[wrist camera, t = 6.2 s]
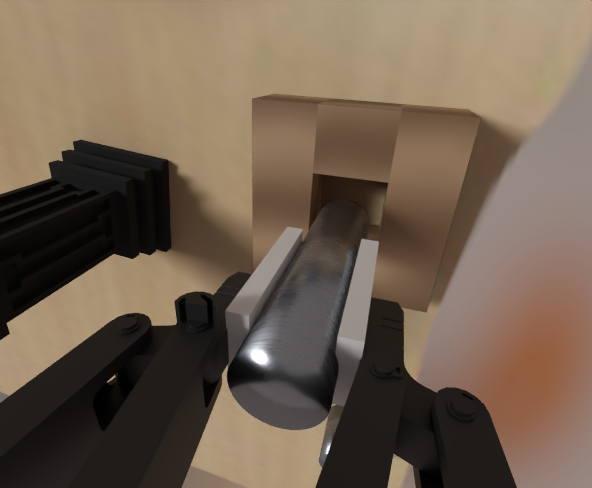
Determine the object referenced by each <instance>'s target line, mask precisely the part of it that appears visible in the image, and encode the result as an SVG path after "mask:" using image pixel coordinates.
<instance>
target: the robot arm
mask: <svg viewBox="0 0 592 488" xmlns="http://www.w3.org/2000/svg"><path fill="white" fill-rule="evenodd" d="M302 238H303V229H299V228H293V227H287V228H286V229H285V230H284V232H283V233H282V235H281V236H280V237H279V239H278V240H277V241H276V243H275V244H274V245H273V247H272V248H271V249H270V251H269V252H268V253H267V255H266V256H265V258H264V259H263V260H262V262H261V263H260V264H259V266H258V267H257V268H256V270H255V271H254V272H253V274H247V273H241V272H237V273H235V274H234V275H232V276H230V277H228V278H227V279H226V281H225V282H224V283H223V284H222V287H220V288H219V289H218V290H217V292H216V293H215V294H214V295H212V294H210V293H206V292H191V293H187V294H184V295H182V296H180V297H179V298H178V299H177V300H175V309H176V317H177V324H176V325H171V326H152V324H151V320H150V318H149V317H148V316H146V315H144V314H140V313H130V314H125V315H122V316H119V317H117V318H115V319H114V320H112V321H110V322H109V323H108V324H106V325H105V326H104V327H102V328H101V329H100V330H98V331H97V332H96V333H94V334H93V335H92V336H90V337H89V338H87V339H86V340H85V341H83V342H82V343H81V344H79V345H78V346H77V347H75V348H74V349H73V350H71V351H70V352H69V353H67V354H66V355H64V356H63V357H62V358H60V359H59V360H58V361H56V362H55V363H54V364H52V365H51V366H50V367H48V368H47V369H46V370H44V371H43V372H41V373H40V374H39V375H37V376H36V377H35V378H33V379H32V380H31V381H29V382H28V383H27V384H25V385H24V386H23V387H21V388H20V389H18V390H17V391H16V392H14V393H13V394H12V395H10V396H9V397H8V398H6V399H5V400H4V401H3V402H1V403H0V488H181V487H182V485H183V482H184V480H185V477H186V475H187V472H188V470H189V467H190V465H191V462H192V460H193V457H194V455H195V452H196V449H197V447H198V444H199V442H200V439H201V437H202V434H203V432H204V429H205V427H206V424H207V422H208V419H209V417H210V414H211V411H212V409H213V406H214V404H215V401H216V399H217V396H218V394H219V391H220V389H221V385H222V373H223V371H224V370H225V368H226V366H227V364H228V368H229V366H230V364H231V362H232V360H233V358H234V357H235V355H236V353H237V352H238V350H239V348H240V347H241V345H242V343H243V341H244V340H245V338H246V336H247V335H248V333H249V332H250V330H251V328H252V327H253V325H254V323H255V322H256V320H257V318H258V316H259V315H260V313H261V311H262V310H263V308H264V306H265V305H266V303H267V301H268V299H269V298H270V296H271V294H272V293H273V291H274V289H275V287H276V286H277V284H278V282H279V281H280V279H281V277H282V276H283V274H284V272H285V270H286V269H287V267H288V265H289V264H290V262H291V260H292V259H293V257H294V255H295V253H296V252H297V250H298V248H299V247H300V245H301V243H302ZM378 245H379V241H372V240H366V239H361V243H360V247H359V251H358V255H357V259H356V263H355V268H354V272H353V276H352V280H351V284H350V288H349V292H348V296H347V300H346V304H345V308H344V312H343V316H342V320H341V324H340V328H339V333H338V337H337V344H336V351H335V354H336V357H337V360H338V365H339V372H338V377H337V382H336V387H335V391H334V396H333V401H332V403H333V404H337V405H340V406H344V409H343V411H342V414H341V417H340V420H339V423H338V425H337V428H336V431H335V434H334V437H333V440H332V442H331V445H330V448H329V451H328V454H327V457H326V459H325V462H324V465H323V468H322V471H321V474H320V476H319V479H318V482H317V485H316V488H387V486H388V481H389V475H390V470H391V464H392V459H393V453H394V454H395V455H397V456H399V457H400V458H402V459H403V460H405V461H407V462H408V463H410V464H411V465H413V469H414V477H415V485H416V488H517V487H516V484H515V481H514V479H513V476H512V474H511V471H510V468H509V465H508V463H507V460H506V457H505V455H504V452H503V449H502V447H501V444H500V441H499V438H498V436H497V433H496V430H495V428H494V425H493V422H492V419H491V417H490V414H489V412H488V410H487V409H486V407H485V405H484V404H483V403H482V402H481V401H480V400H479V399H478V398H477V397H475V396H474V395H472V394H470V393H469V392H467V391H465V390H461V389H458V388H447V387H446V388H444V389H441V390H439V391H438V393H436V392H434V391H432V390H430V389H428V388H426V387H424V386H422V385H421V384H419V383H418V382H417V381H415V380H414V379H413V378H412V377H411V376H410V375H409V373H408V372H407V370H406V368H405V366H404V332H403V331H404V324H403V323H404V312H403V310H402V309H401V307H400V305H399V304H398V302H393V301H388V300H383V299H378V298H373V297H371V294H372V287H373V280H374V273H375V266H376V259H377V252H378ZM114 375H115V376H116V377H115V378H114V379H113V380H111V381H110V382H108V383H107V381H108V380H109V379H110V378H112V377H113V376H114Z"/></svg>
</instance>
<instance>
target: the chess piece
mask: <svg viewBox="0 0 592 488" xmlns="http://www.w3.org/2000/svg"><path fill="white" fill-rule="evenodd" d="M73 144H74V150H66V151H62V158H63V161H59V160H57V161H53V162H50V163H49V167H50V172H51V177H52V178H51V179H48V180H45V181H41V182H38V183H35V184H32V185H29V186H26V187H22V188H19V189H16V190H13V191H10V192H7V193H3V194H0V340H1V339H3V338H4V337H5V336H7V335H8V334H10V333H9V330H8V327H7V324H6V323H7V322H9V321H10V320H12V319H14V318H15V317H17V316H18V315H20V314H21V313H23V312H24V311H26V310H27V309H29V308H31V307H32V306H34V305H35V304H37V303H38V302H40V301H41V300H43V299H45V298H46V297H48V296H49V295H51V294H52V293H54V292H55V291H57V290H58V289H60V288H62V287H63V286H65V285H66V284H68V283H69V282H71V281H72V280H74V279H75V278H77V277H79V276H80V275H82V274H83V273H85V272H86V271H88V270H89V269H91V268H93V267H94V266H96V265H97V264H99V263H100V262H102V261H103V260H105V259H106V258H108V257H110V256H111V255H113V254H117V255H120V256H124V257H127V258H131V259H134V258H135V257H136V256H138V255H139V252H140V253H144V254H147V255H151V254H153V253H154V252H155V251H156V249H157V250H161V251H164V252H166V251H168V250H169V249H170V248H171V232H170V203H169V174H168V160H166V159H161V158H157V157H153V156H149V155H144V154H140V153H136V152H131V151H127V150H123V149H118V148H114V147H110V146H105V145H101V144H97V143H92V142H88V141H84V140H78V141H74V142H73Z"/></svg>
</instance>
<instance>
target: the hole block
mask: <svg viewBox="0 0 592 488" xmlns="http://www.w3.org/2000/svg"><path fill="white" fill-rule="evenodd" d="M480 120H481V118H480V117H479V116H477V115H476V114H474V113H473V112H471V111H469V110H467V109H455V108H442V107H430V106H417V105H405V104H392V103H380V102H367V101H355V100H342V99H330V98H318V97H305V96H293V95H280V94H272V95H267V96H263V97H258V98H253V99H252V183H253V272H254V271H255V270H256V268H257V267H258V266H259V264H260V263H261V262H262V260H263V259H264V258H265V256H266V255H267V253H268V252H269V251H270V249H271V248H272V247H273V245H274V244H275V243H276V241H277V240H278V239H279V237H280V236H281V235H282V233H283V232H284V230H285V229H286V228H287V227H293V228H299V229H303V238H302V241H303V240H304V238H305V236H306V234H307V233H308V231H309V229H310V228H311V226H312V224H313V223H314V221H315V219H316V217H317V216H318V214H319V212H320V211H321V203H322V192H323V181H324V175H332V176H339V177H347V178H355V179H363V180H371V181H379V182H387V183H388V184H387V190H386V195H385V201H384V206H383V212H382V218H381V223H380V226H376V225H370V228H369V233H368V238H367V240H372V241H379V245H378V252H377V259H376V266H375V273H374V280H373V287H372V294H371V297H373V298H378V299H383V300H388V301H393V302H398V304H399V305H400V307H402V308H407V309H412V310H417V311H422V312H427V309H428V305H429V301H430V298H431V294H432V291H433V287H434V284H435V280H436V277H437V273H438V269H439V266H440V262H441V259H442V255H443V252H444V248H445V245H446V241H447V238H448V234H449V230H450V227H451V223H452V220H453V216H454V213H455V209H456V206H457V202H458V198H459V195H460V191H461V188H462V184H463V181H464V177H465V174H466V170H467V166H468V163H469V159H470V156H471V152H472V149H473V145H474V142H475V138H476V134H477V131H478V127H479V124H480Z"/></svg>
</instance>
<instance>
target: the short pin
mask: <svg viewBox="0 0 592 488" xmlns="http://www.w3.org/2000/svg"><path fill="white" fill-rule="evenodd" d="M343 409H344V406H340V405H335V406H333V407H331V409H330V412H329V415H328V420H327V424H326V429H325V434H324V438H323V443H322V448H321V453H320V457H319V463H320V465H321V466H322V468H323V465H324V462H325V459H326V457H327V454H328V451H329V448H330V445H331V442H332V440H333V437H334V434H335V431H336V428H337V425H338V423H339V420H340V417H341V414H342V411H343Z"/></svg>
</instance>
